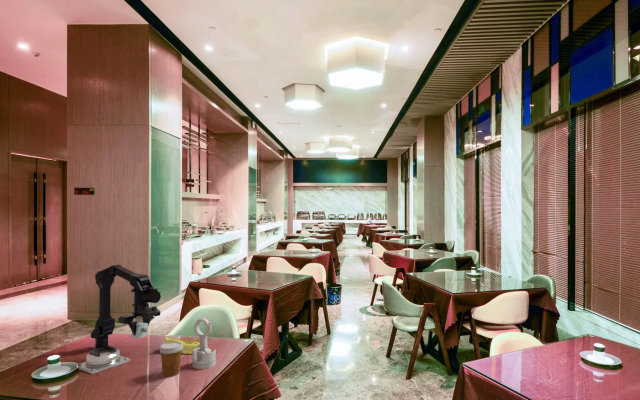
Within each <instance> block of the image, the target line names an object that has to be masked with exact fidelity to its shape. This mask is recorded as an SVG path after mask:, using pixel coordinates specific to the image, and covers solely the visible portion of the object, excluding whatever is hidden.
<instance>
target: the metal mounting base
mask: <svg viewBox="0 0 640 400" xmlns="http://www.w3.org/2000/svg"><path fill="white" fill-rule="evenodd" d="M120 354H121V351H120V348H117V347H114V346H111V345H109V344H108V345H107V346H104V347H101V348H97V349H91V350H89V352H88V353H87V354H86V361H84V362H78V363H77V364H78V368H79V369H78V368H77V369H78V370H81V371H83V372H85V373H88V374H90V375H93V374H96V373H100V372H101V371H104V370H109V369H111V368H113V367H116V366H119V365H122V364H125V363H128V362H130V361H131V358H129V357H127V356H123V355H120Z"/></svg>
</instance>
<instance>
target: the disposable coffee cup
mask: <svg viewBox="0 0 640 400" xmlns="http://www.w3.org/2000/svg"><path fill="white" fill-rule="evenodd" d="M182 349H183V345H182V343H181V342H169V343H166V342H165V343H163V344H161V345H160V348H159V349H158V350H159V352H160V360H161V361H160V362H161V368H162V376H163V377H174V376H177V375H179V373H180V365H181V360H182V354H183V353H182Z"/></svg>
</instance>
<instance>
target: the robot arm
mask: <svg viewBox="0 0 640 400" xmlns="http://www.w3.org/2000/svg"><path fill="white" fill-rule="evenodd" d="M117 276H118V277H120V278H121V279H124V280H126V281H127V282H129V285H130V286H131V287H132V289H131V291H130V292H131V293H133V303H131V306H132V307H133V312H131V315H129V314H125V315H120V316H119V317H118V319H117V320H118V323H119V324H122V325H128V327H129V329H130V330H131V334H132V333H133V335H134V336H135V335H136V324H137V323H138V321H136V320H137V319H141V318H142V322H145V323H148V326H149V325H150V323H151V321H152V320H154V319H155V317H160V316H161V311H160V309H158V307H157V306H152V307H150V304H157V303H159V301H160V300H161V299H162V298H161V297H162V295H161V292H160V291H158V288H155V287H154V284H153V283H152V281H151V278H150V277H149V275H148V274H143V273H136V272H134V271H132V270H130V269H128V268H126V267H123V266H122V265H121V264H112V265H110V266H109V267H106V268H104V269H102V270H99V271H97V272H96V273H95V276H94V277H95V278H94V279H95V284H96V285H97V287H98V290H99V291H98V292H99V297H98V298H99V299H98V302H99V304H98V305H99V307H98V308H99V309H98V310H99V311H98V318H97V319H96V321H95V324H94V325H95V326H94V329H93V330H92V331H91V333H90V338H91V339H95V340H94V347H91V350H94V349H97V348H101V347H104V346H107V345H108V346H109V336H110V335H113V334H114V330H115V327H116V324H115V323H116V319H115V318H113V317H112V315H111V294H112V293H111V291H112V290H111V289H112V286H113V283H114V282H115V278H116V277H117Z"/></svg>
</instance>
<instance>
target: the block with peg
mask: <svg viewBox="0 0 640 400" xmlns="http://www.w3.org/2000/svg"><path fill="white" fill-rule="evenodd" d="M148 330H149V325H148V323H145V322H143V321H139V322H137V324H136V335H135V336H134V335H133V333H132V332H131V338H136V339H141V338H144V337H147V336H148V334H149V333H148V332H149V331H148Z"/></svg>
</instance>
